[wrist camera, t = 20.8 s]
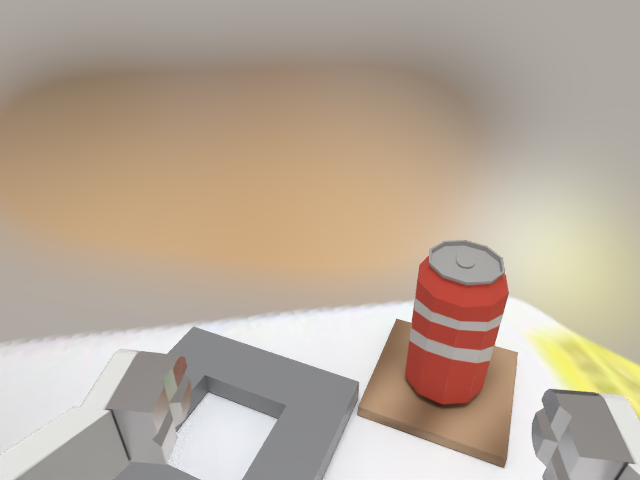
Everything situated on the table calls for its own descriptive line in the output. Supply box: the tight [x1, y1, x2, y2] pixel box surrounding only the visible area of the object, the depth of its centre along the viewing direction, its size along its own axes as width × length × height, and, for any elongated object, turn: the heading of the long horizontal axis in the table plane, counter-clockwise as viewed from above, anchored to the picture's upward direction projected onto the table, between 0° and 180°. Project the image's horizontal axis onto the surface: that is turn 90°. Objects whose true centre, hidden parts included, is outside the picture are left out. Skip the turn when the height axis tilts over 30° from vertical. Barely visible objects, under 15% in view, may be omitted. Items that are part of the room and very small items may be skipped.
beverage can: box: [405, 240, 509, 404], centre depth 35 cm, size 6×6×12 cm
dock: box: [113, 327, 359, 480], centre depth 34 cm, size 16×16×2 cm
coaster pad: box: [358, 319, 518, 468], centre depth 39 cm, size 11×11×1 cm
